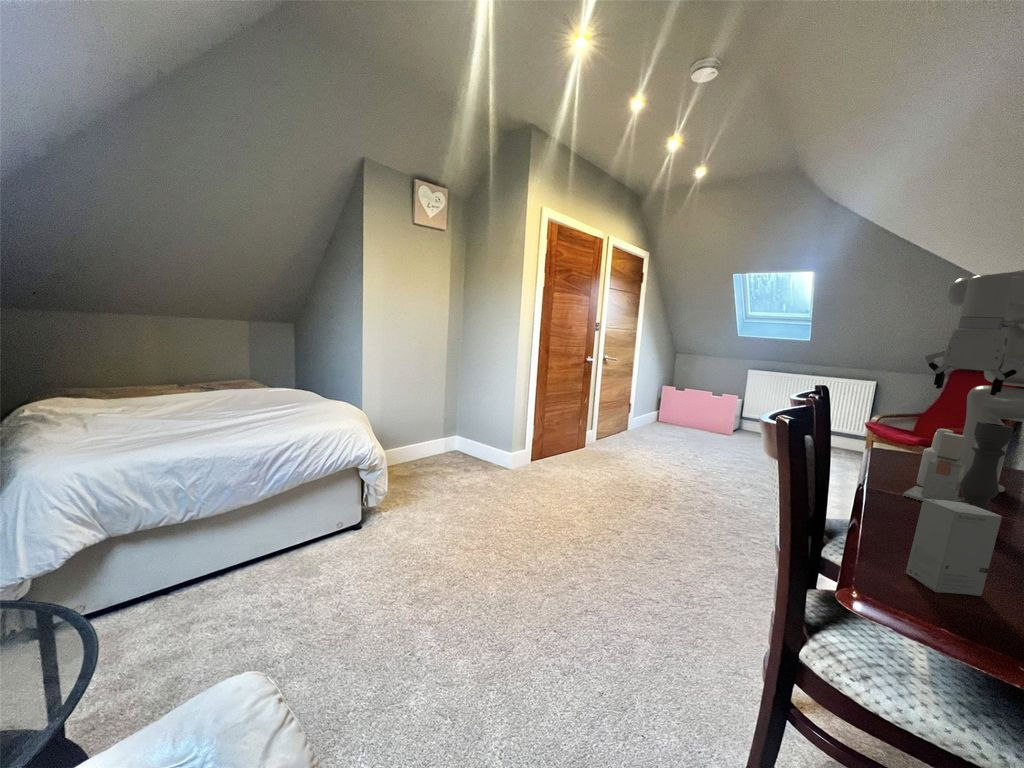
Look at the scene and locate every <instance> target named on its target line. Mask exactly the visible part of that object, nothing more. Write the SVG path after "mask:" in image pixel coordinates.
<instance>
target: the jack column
mask: <svg viewBox="0 0 1024 768" xmlns="http://www.w3.org/2000/svg"><path fill="white" fill-rule="evenodd" d="M964 439H965V436H964V435H963V434H957V433H954V432H953V433H947V432H946V433H943V436H942V440H941V445H940V449H939V453H938V455H937V462H939V461H940V460H941V461H945V462H949V463H950V465H952V466H956V467H957V466H958V464H959V460H960V456H961V452H962V447H963V443H964Z"/></svg>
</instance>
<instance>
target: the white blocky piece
mask: <svg viewBox="0 0 1024 768" xmlns="http://www.w3.org/2000/svg"><path fill="white" fill-rule="evenodd" d="M965 466H966V465H964V464H958V466H957V467H956V466H952V465H950V463H949V462H945V461H941V460H940V461H939V462H937V458H934V459H932V460H930V461H929V464H928V468H927V473H926V477H925V481H924V485H923V487H922V486H919V485H915V486H912V488H909V489H907V490H906V491H904V492H903V494H902V497H904V496H906V497H905V498H907V497H910V498H909V499H911V498H913V499H912V500H914V499H916V500H915V501H918V500H920V501H919V502H921V501H923V499H933V500H947V501H952V502H957V501H959V500H961V499H962V498H963V497H959V494H960V490H961V488H960V483H961V481H962V478H963V474H964V470H965Z"/></svg>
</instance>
